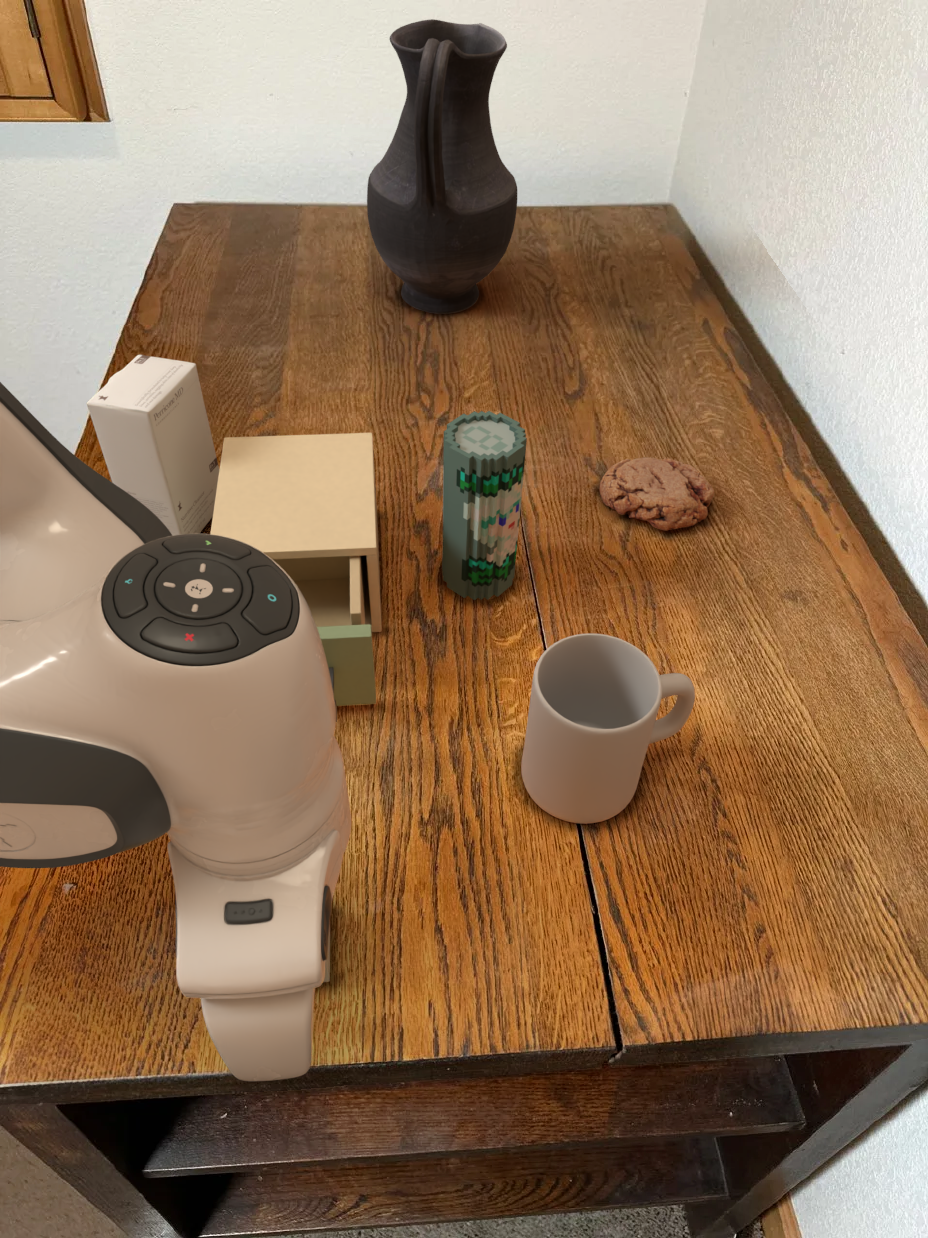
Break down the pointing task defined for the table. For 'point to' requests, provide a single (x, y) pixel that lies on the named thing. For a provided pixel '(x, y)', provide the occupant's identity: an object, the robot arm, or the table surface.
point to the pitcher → (443, 169)
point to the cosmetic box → (159, 440)
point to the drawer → (339, 622)
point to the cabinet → (303, 500)
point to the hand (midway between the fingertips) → (294, 932)
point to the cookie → (657, 492)
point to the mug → (595, 725)
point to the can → (481, 502)
